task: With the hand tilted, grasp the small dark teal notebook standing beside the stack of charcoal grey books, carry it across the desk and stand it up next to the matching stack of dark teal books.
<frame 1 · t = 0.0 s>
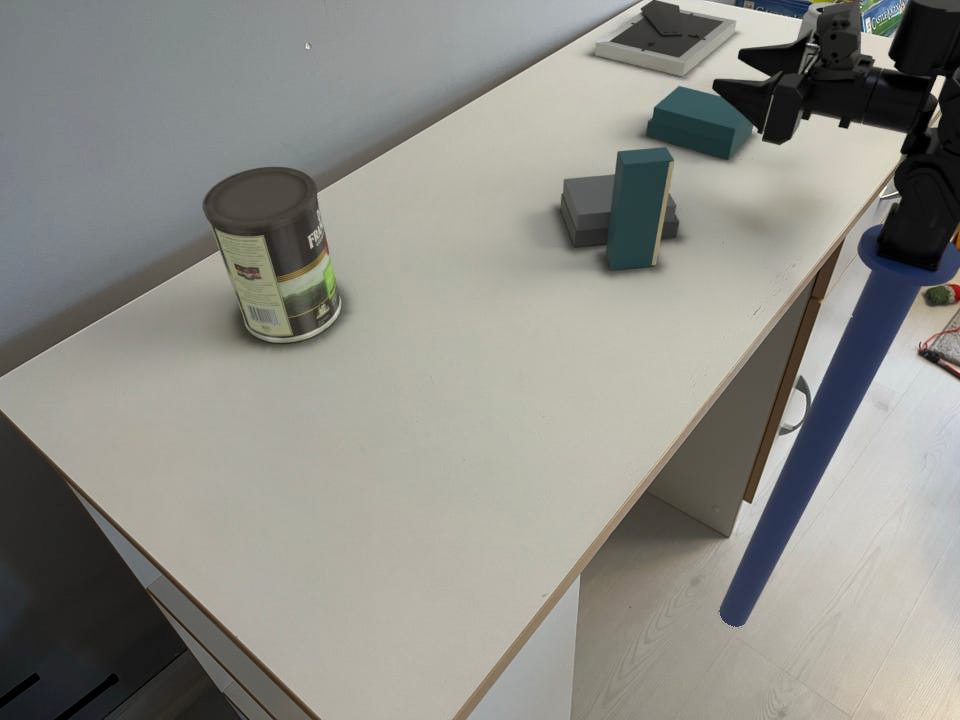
hand: (726, 68, 82), 14 cm above the table, tool horizontal, fingers open, 9 cm apart
beverage can: (804, 94, 107), on the table
teal book: (629, 261, 80), on the table
picture frame: (665, 45, 122), on the table
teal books: (698, 135, 99), on the table
grey books: (616, 222, 85), on the table
coffee can: (293, 311, 76), on the table
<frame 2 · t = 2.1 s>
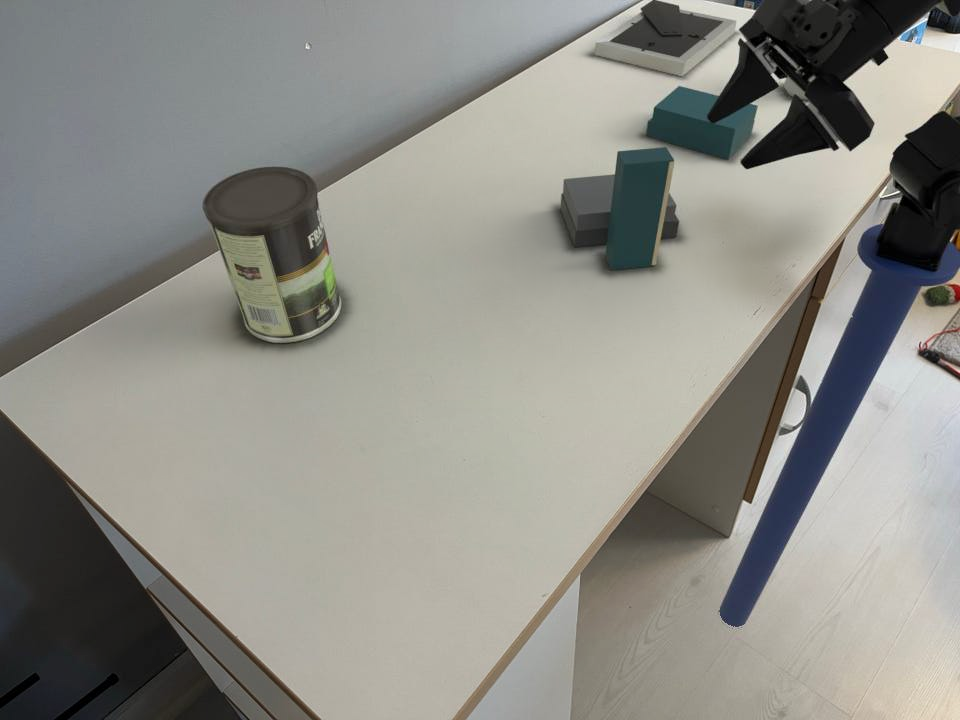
hand: (725, 142, 71), 14 cm above the table, tool tilted 45°, fingers open, 9 cm apart
nothing on the table moved.
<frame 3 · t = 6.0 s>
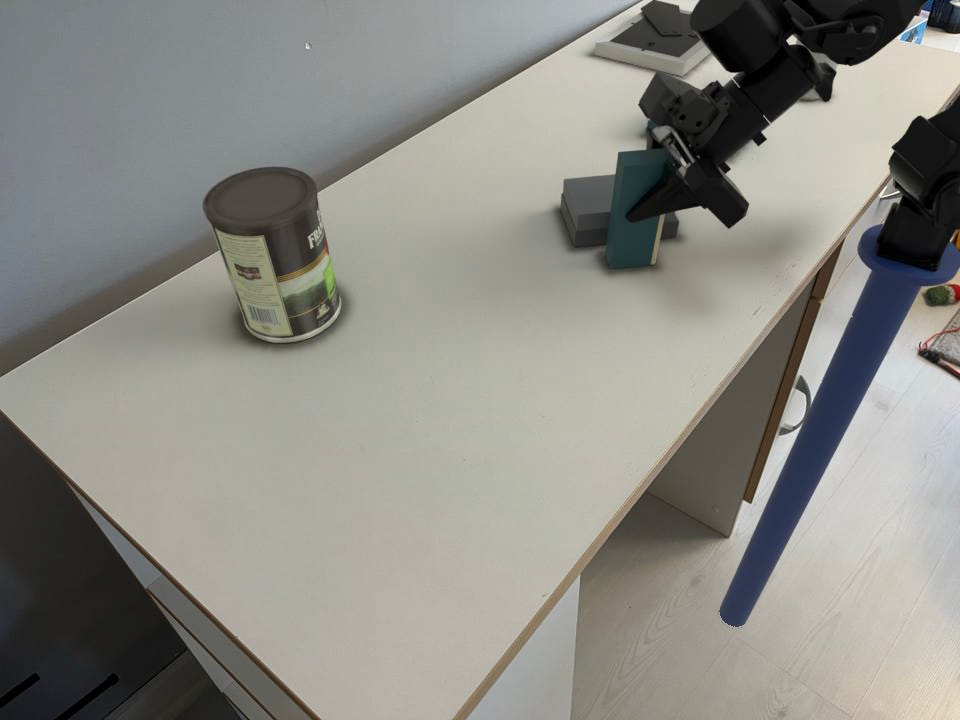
hand: (624, 211, 75), 7 cm above the table, tool tilted 45°, fingers closed on teal book, 3 cm apart
teal book: (629, 259, 80), on the table, touching gripper
everything else where it was.
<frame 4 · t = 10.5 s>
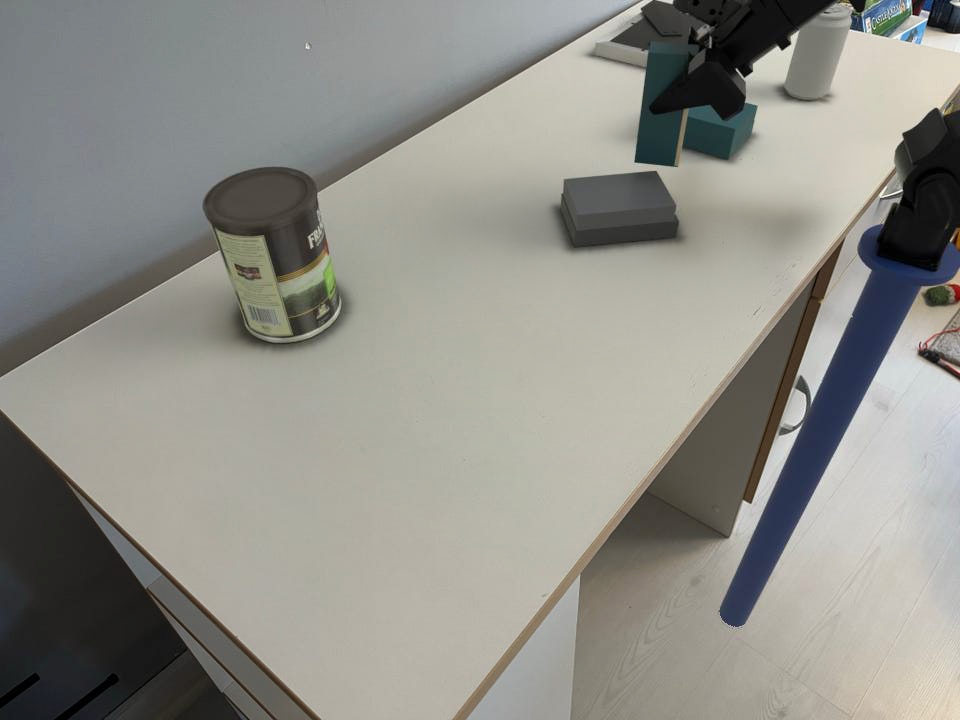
hand: (652, 105, 79), 12 cm above the table, tool tilted 45°, fingers closed on teal book, 3 cm apart
teal book: (657, 159, 84), point 6 cm above the table, touching gripper
everything else where it was.
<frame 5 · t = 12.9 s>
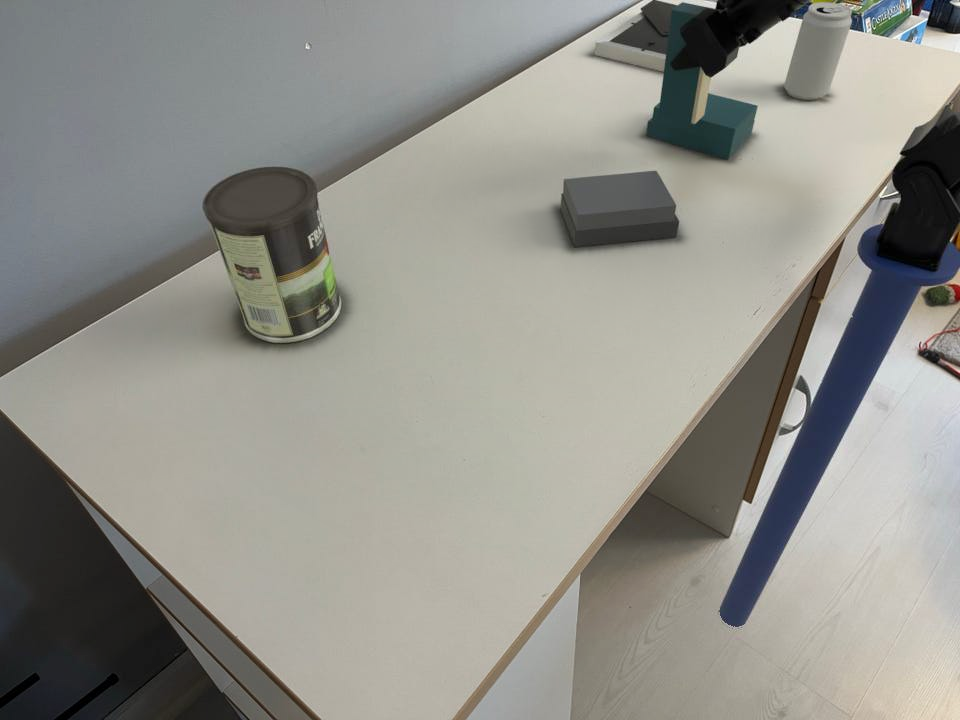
hand: (677, 62, 87), 12 cm above the table, tool tilted 45°, fingers closed on teal book, 3 cm apart
teal book: (680, 115, 91), point 6 cm above the table, touching gripper
everything else where it was.
when the fingers open (7 cm above the table, at t = 14.9 s): teal book stays where it is, on the table.
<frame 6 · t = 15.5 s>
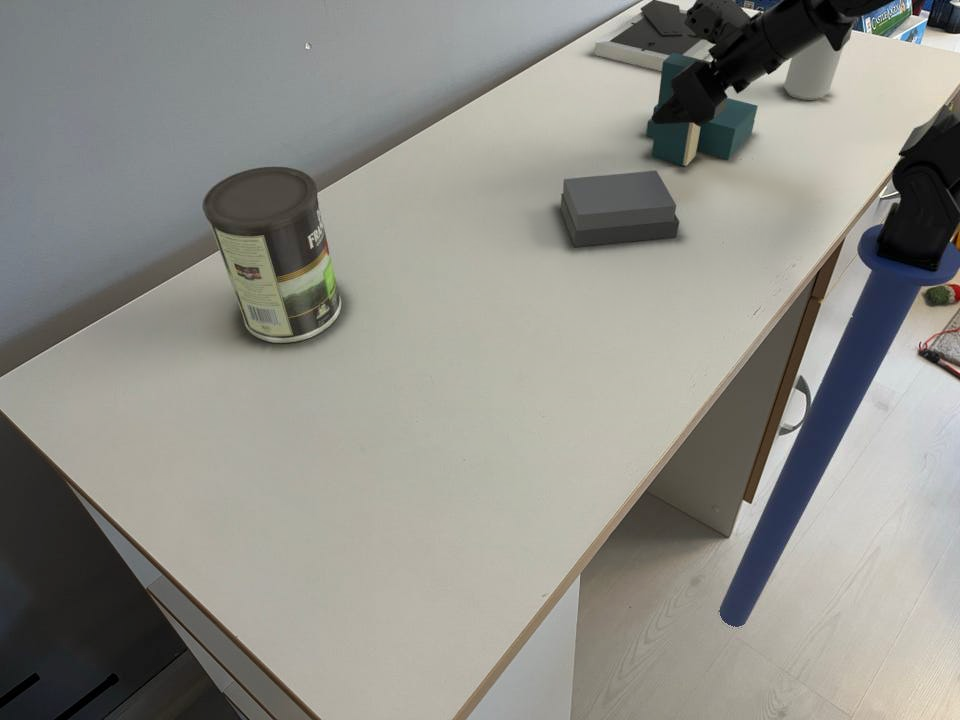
hand: (670, 106, 91), 7 cm above the table, tool tilted 45°, fingers open, 9 cm apart
teal book: (673, 156, 95), on the table
everything else where it was.
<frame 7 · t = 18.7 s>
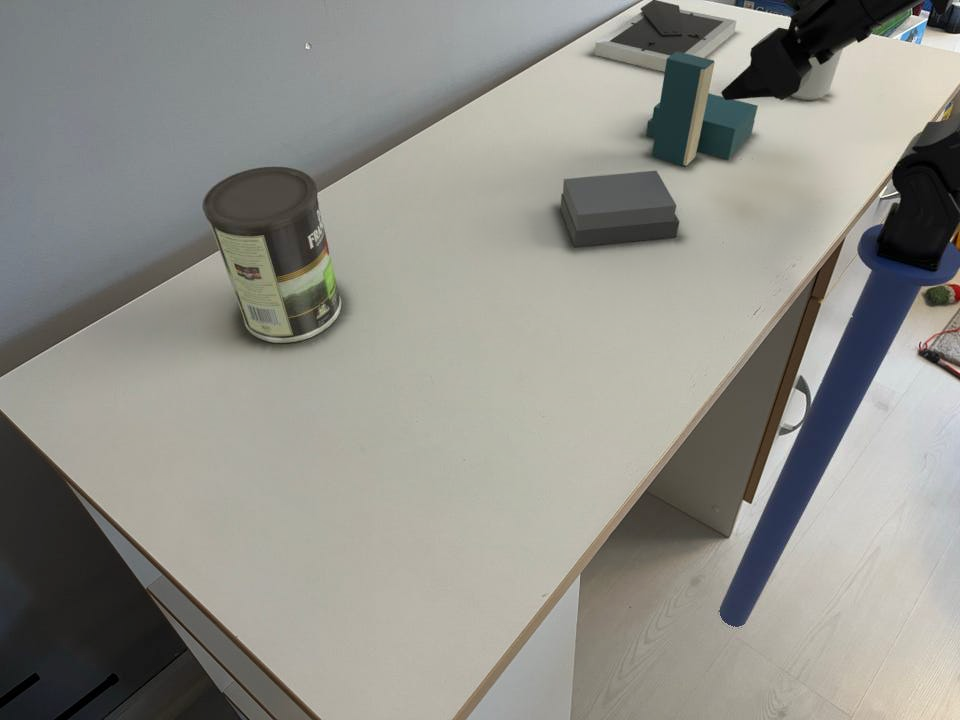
hand: (739, 81, 84), 12 cm above the table, tool tilted 45°, fingers open, 9 cm apart
nothing on the table moved.
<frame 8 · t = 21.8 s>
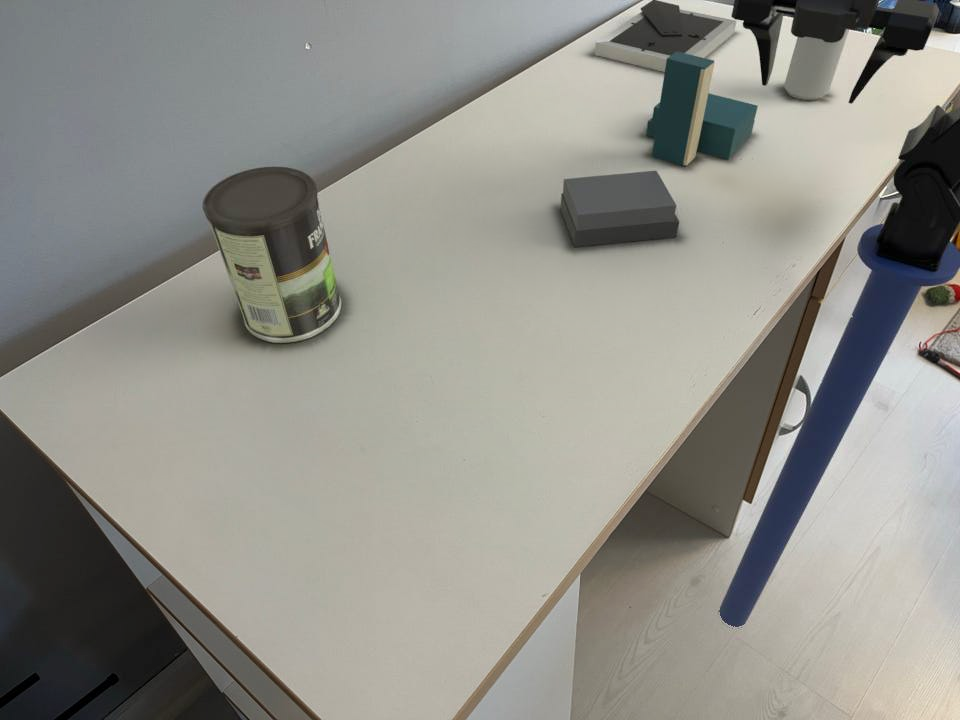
hand: (807, 93, 79), 13 cm above the table, tool pointing down, fingers open, 9 cm apart
nothing on the table moved.
at the end: teal book 0.3 cm from the target spot on the table beside the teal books, on the table; teal book tilted 0°; the gripper is holding nothing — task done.
